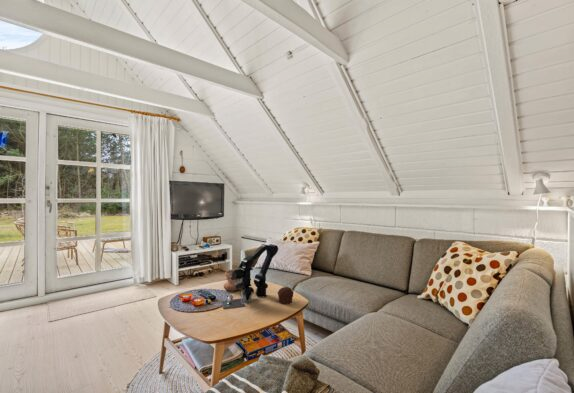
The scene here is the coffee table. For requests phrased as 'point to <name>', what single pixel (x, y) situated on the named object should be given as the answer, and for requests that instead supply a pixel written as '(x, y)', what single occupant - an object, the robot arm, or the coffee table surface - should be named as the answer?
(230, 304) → the flange plate
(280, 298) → the muffin
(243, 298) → the collar
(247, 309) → the coffee table surface
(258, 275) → the robot arm
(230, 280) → the ceramic jug
